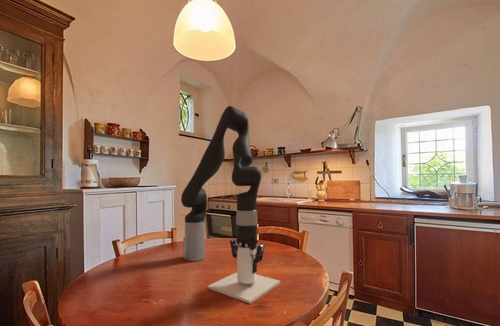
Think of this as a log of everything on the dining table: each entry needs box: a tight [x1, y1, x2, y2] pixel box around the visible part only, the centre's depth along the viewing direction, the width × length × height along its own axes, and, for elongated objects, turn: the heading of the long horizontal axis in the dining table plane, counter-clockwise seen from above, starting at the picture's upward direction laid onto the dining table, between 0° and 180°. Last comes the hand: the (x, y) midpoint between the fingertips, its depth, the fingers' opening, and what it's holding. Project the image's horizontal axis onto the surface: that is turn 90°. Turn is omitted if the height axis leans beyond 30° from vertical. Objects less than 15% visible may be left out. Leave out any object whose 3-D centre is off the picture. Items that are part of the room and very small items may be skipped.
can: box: [236, 246, 257, 284], centre depth 86 cm, size 6×6×12 cm
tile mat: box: [207, 272, 281, 304], centre depth 86 cm, size 18×18×1 cm
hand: (246, 272), depth 85 cm, fingers closed on can, 4 cm apart
